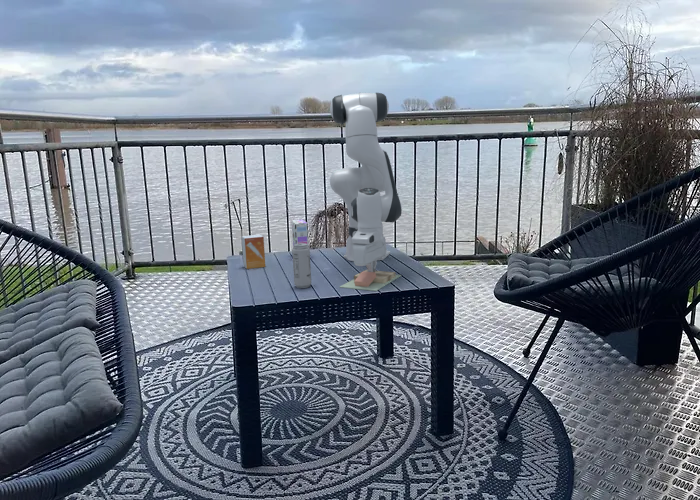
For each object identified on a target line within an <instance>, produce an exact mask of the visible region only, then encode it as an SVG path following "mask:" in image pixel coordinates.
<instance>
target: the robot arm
mask: <svg viewBox="0 0 700 500" xmlns="http://www.w3.org/2000/svg"><path fill="white" fill-rule="evenodd" d="M330 102H331V103H330V105H329V111H330V115H331V117H332V119H333V122H335V123H336V124H340V125H342V126H344V125H345V133H344V134H345V135H344V136H345V152H346V155H347V156H348V157H349V158H350V160H354V161H356V162H358V163H359V164H360V165H361V166H360V167H344V168H339V169H335V170H334V171H333V172H332V173H331V174H330V178H329V186H330V188H331V190H332V191H333V192H334V193H335V194H337V195H338V196H339V197H340V198H341V199H342V200H343V202H344V203H345V205H346V208H347V213H348V214H347V215H348V224H349V225H348V230H347V231H348V235H349V236H348V238H346V244H345V245H346V246H345V247H346V248H345V252H346V253H345V254H344V255H343V258H344V259H346V260H347V261H351V262H353V264H354V265H355V266H357V267H364V266H366V270H368V272H376V271H377V270H376V267H377V264H378V261H383V260H386V258H387V257H388V256H389V255H391V251H390V250H387V241H386V237H385V236H384V226H383V223H395V222H396V221H397V220H399V219H400V218H401V216H402V211H403V208H402V207H403V206H402V203H401V200H400V197H399V193H398V190H397V186H396V181H395V177H394V172H393V168H392V165H391V160H390V157H389V155H388V153H387V151H386V150H384V149H382V147H381V145H380V143H379V140H378V129H377V123H378V122H381V121H382V122H383V121H384V120H385V119H386V118H387V117H388V113H389V110H390V106H389V101H388V98H387V96H386V95H385V93H381V92H375V93H373V92H358V93H357V92H356V93H350V94H344V95H342V94H340V95H336V96H334V97H333V98H332V100H331V101H330ZM382 192H385V194H382V195H381V193H382Z"/></svg>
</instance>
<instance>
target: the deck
mask: <svg viewBox="0 0 700 500" xmlns="http://www.w3.org/2000/svg"><path fill="white" fill-rule="evenodd" d="M364 271H365V272H368V269H365V270H364ZM362 272H363V271H361V272H359V273H357V274H355V275H353V279H354V281H355V280H356V278H357V277H358V276H359V275H360V274H361V273H362ZM375 273H376V278H375V279H374V280H373V281H372V282H375V283H386V282H388V281H389V280H391V279H393V278H394V277H396V275H397V274H396V271H387V270H386V271H385V270H384V271H383V270H376V272H375Z"/></svg>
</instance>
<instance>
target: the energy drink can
mask: <svg viewBox="0 0 700 500" xmlns="http://www.w3.org/2000/svg"><path fill="white" fill-rule="evenodd" d="M292 247H293V246H292ZM291 251H292V269H293V270H292V271H293V282H294V283H293V284H294V286H295V287H296V288H297V289H307V288H310V287H311V285H312V270H311V269H312V267H311V254H310V253H311V251H310V246H309V247H308V244H306V243H299V244H294V247H293V248H292V249H291Z"/></svg>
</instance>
